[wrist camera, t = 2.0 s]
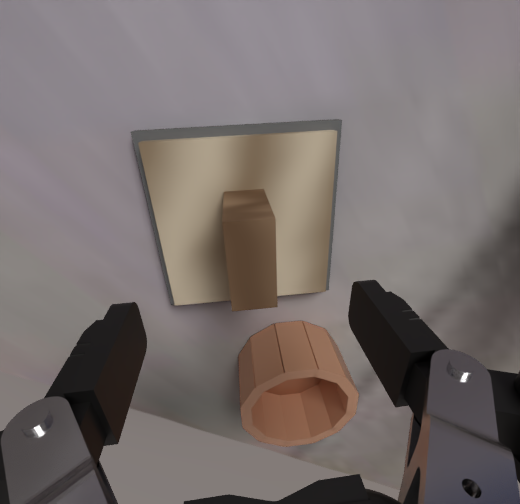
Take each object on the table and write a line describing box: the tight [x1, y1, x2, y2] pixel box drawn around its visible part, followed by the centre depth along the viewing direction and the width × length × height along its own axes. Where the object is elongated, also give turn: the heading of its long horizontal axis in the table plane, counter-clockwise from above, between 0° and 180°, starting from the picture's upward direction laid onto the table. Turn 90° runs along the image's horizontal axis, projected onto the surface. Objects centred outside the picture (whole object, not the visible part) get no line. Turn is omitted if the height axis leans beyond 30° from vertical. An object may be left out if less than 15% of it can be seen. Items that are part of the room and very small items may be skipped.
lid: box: [138, 130, 337, 311], centre depth 17 cm, size 11×11×6 cm
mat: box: [131, 119, 342, 305], centre depth 20 cm, size 12×12×1 cm
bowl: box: [238, 321, 359, 447], centre depth 24 cm, size 9×9×5 cm
